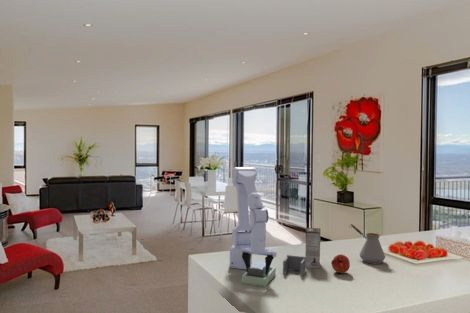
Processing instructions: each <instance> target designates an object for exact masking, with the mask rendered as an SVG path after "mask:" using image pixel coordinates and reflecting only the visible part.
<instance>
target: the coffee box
mask: <svg viewBox="0 0 470 313" xmlns="http://www.w3.org/2000/svg"><path fill="white" fill-rule="evenodd" d="M304 253H305V256H304V257H306V268H312V269H313V268H315V269H320V256H321V227H319V228H318V227H317V228H315V227H306V230H305V252H304Z"/></svg>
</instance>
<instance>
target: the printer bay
mask: <svg viewBox="0 0 470 313" xmlns="http://www.w3.org/2000/svg"><path fill="white" fill-rule="evenodd" d="M306 268H307V267H306V257H305V256H303V255H302V256H301V255H293V254H287V255H286V257H285V258H284V260H283V261H282V274H283V275H285V274H286V273H287V272H288V271H289V270H291V271H299V274H300V275H299V276H300V277H303V276H304V274H305V272H306Z"/></svg>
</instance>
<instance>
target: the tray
mask: <svg viewBox="0 0 470 313" xmlns="http://www.w3.org/2000/svg"><path fill="white" fill-rule="evenodd" d="M276 270H277V269H276V267H274V266H270V268H269V273H268V274H267V276H266V277H265V278H261V277H253V276H248V272H247V271H245V272H244V273H243V274H242V275H241V284H244V285H251V286H260V287H267V285H268V284H269V283H271V281H272V279H274V277H275V276H276V275H277V274H276V272H277V271H276Z"/></svg>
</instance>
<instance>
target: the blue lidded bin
mask: <svg viewBox="0 0 470 313" xmlns="http://www.w3.org/2000/svg"><path fill="white" fill-rule="evenodd" d="M252 264H253V265H252V266H251V267H250V268H248V276H253V277H261V278H265V277H266V276H267V275H266V274H265V271H266V262H265V261H261V260H256V261H255V262H254V263H252Z"/></svg>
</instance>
